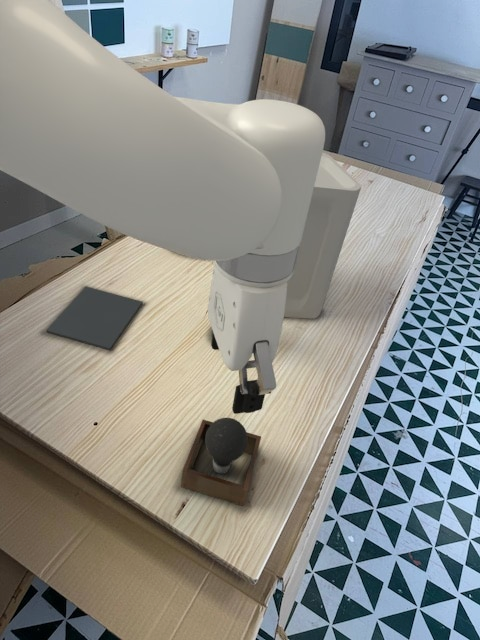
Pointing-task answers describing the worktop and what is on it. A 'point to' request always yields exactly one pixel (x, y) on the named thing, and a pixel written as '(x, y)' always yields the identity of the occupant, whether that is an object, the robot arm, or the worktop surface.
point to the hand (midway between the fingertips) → (234, 376)
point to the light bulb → (225, 442)
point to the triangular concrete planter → (321, 239)
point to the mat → (95, 318)
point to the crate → (213, 484)
